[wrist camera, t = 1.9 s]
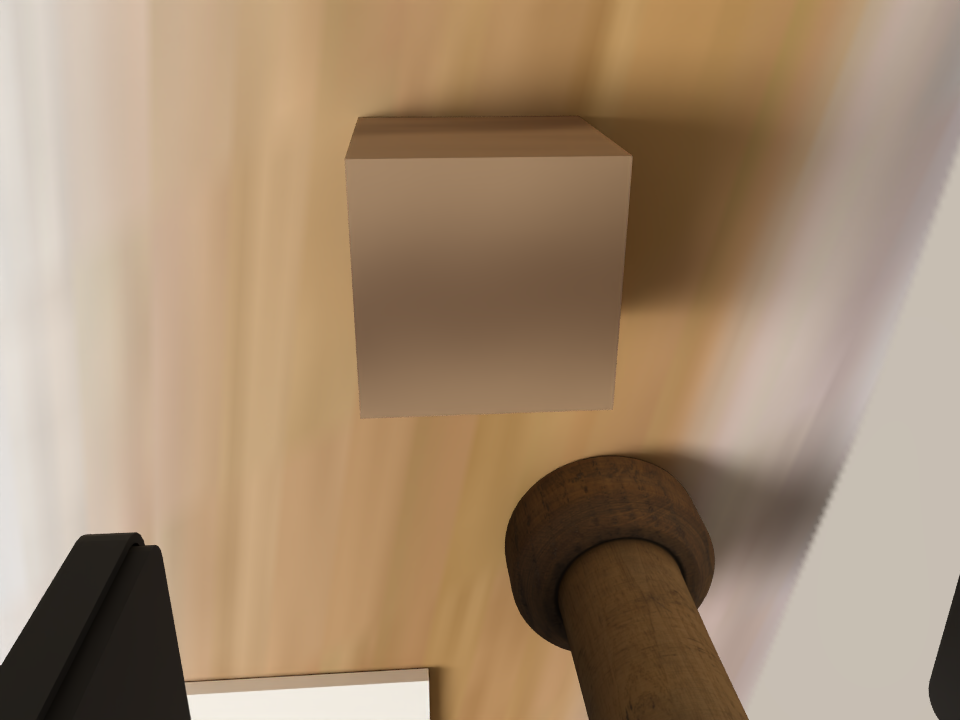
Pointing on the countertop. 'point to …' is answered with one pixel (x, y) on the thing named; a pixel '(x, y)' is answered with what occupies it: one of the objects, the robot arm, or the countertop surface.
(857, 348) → the countertop surface
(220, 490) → the countertop surface
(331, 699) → the tile pad
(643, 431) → the countertop surface
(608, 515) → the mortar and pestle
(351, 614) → the countertop surface
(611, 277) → the walnut cube
